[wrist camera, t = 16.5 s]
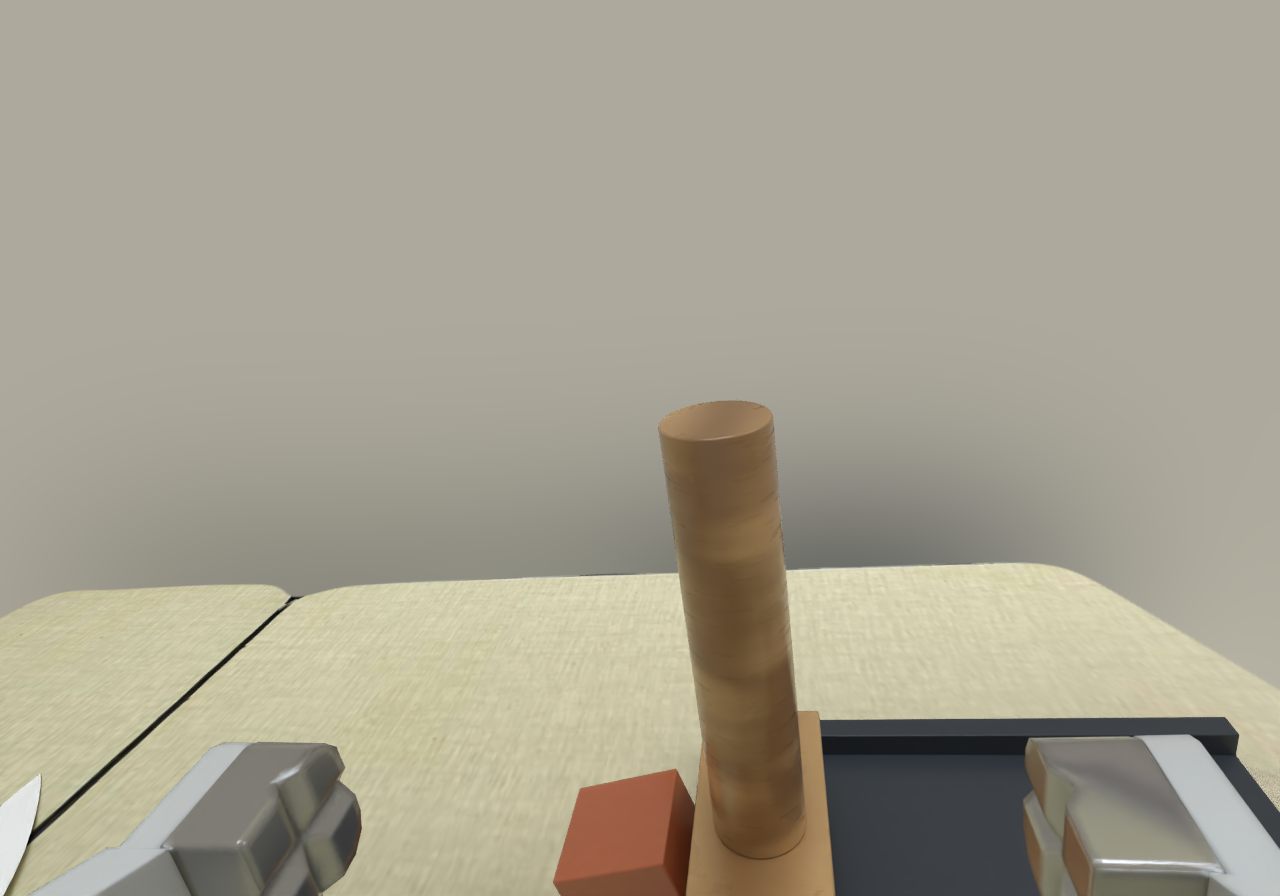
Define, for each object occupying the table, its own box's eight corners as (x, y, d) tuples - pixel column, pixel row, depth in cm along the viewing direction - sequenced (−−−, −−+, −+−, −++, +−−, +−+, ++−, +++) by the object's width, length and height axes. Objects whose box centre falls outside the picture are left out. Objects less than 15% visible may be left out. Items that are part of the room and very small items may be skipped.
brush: (824, 789, 30) (793, 358, 24) (850, 1085, 21) (811, 499, 15) (715, 788, 31) (658, 370, 25) (693, 1071, 22) (590, 512, 15)
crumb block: (715, 846, 29) (676, 767, 27) (708, 950, 25) (662, 863, 24) (620, 862, 30) (579, 787, 29) (600, 964, 26) (551, 882, 25)
